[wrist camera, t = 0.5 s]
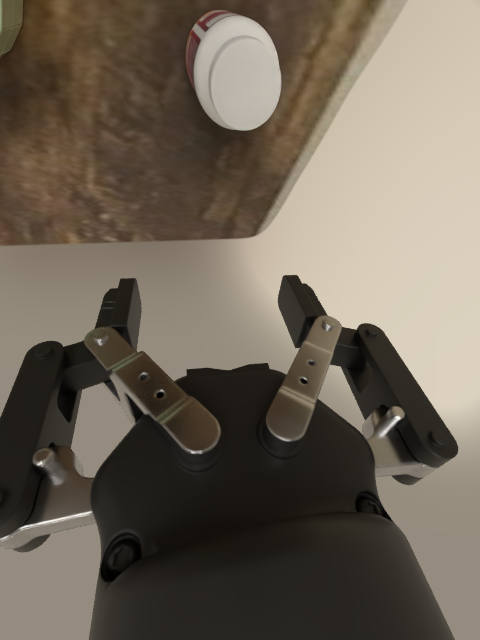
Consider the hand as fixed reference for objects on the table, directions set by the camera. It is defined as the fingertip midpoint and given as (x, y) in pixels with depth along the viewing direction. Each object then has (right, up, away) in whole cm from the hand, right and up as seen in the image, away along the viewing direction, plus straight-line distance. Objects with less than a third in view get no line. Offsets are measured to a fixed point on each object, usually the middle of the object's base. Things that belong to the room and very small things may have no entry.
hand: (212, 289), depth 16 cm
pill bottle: (0, +22, +9) cm, 24 cm away
